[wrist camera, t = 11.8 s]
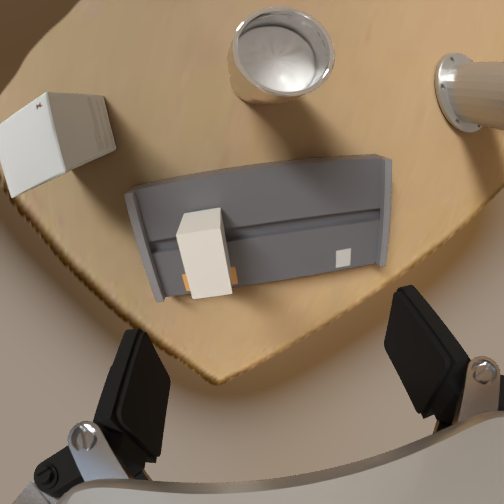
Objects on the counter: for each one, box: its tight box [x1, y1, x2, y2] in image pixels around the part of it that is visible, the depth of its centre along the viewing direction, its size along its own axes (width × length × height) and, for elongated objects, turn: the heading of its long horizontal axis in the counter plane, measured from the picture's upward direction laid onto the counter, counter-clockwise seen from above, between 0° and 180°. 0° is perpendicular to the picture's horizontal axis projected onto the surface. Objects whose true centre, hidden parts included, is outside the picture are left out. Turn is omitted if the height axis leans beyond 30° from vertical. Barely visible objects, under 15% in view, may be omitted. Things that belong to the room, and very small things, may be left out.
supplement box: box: [0, 92, 116, 198], centre depth 22 cm, size 7×7×13 cm
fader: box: [176, 207, 232, 299], centre depth 30 cm, size 4×7×7 cm, turn 7°
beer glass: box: [227, 7, 335, 104], centre depth 21 cm, size 7×7×15 cm
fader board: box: [124, 154, 392, 303], centre depth 33 cm, size 30×14×4 cm, turn 97°
